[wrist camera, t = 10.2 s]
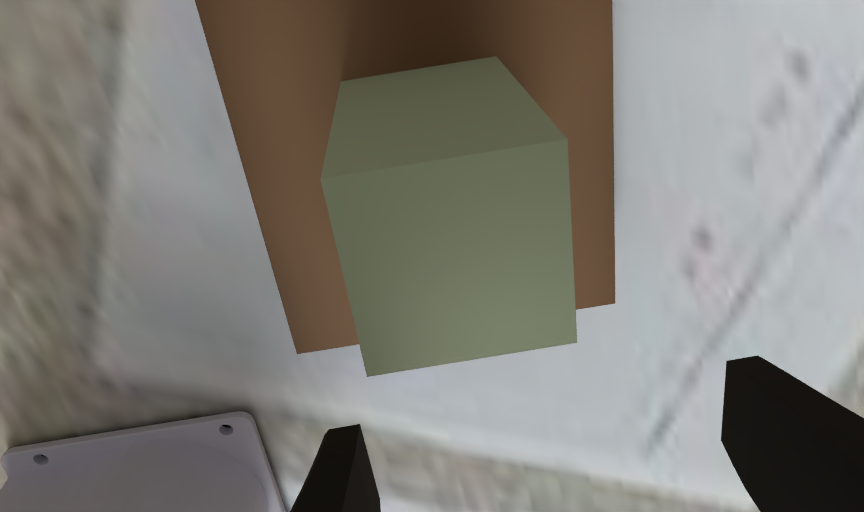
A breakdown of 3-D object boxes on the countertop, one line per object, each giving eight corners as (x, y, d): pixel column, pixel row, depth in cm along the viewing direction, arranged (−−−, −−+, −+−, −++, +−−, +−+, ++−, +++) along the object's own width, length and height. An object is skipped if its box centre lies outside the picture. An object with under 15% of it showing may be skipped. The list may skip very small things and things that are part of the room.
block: (369, 222, 19) (367, 376, 12) (340, 81, 17) (320, 178, 11) (509, 199, 19) (577, 342, 12) (496, 56, 17) (567, 138, 11)
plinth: (306, 303, 23) (296, 354, 20) (204, -77, 18) (173, -75, 15) (587, 258, 23) (615, 303, 20) (574, -135, 18) (610, -144, 15)
